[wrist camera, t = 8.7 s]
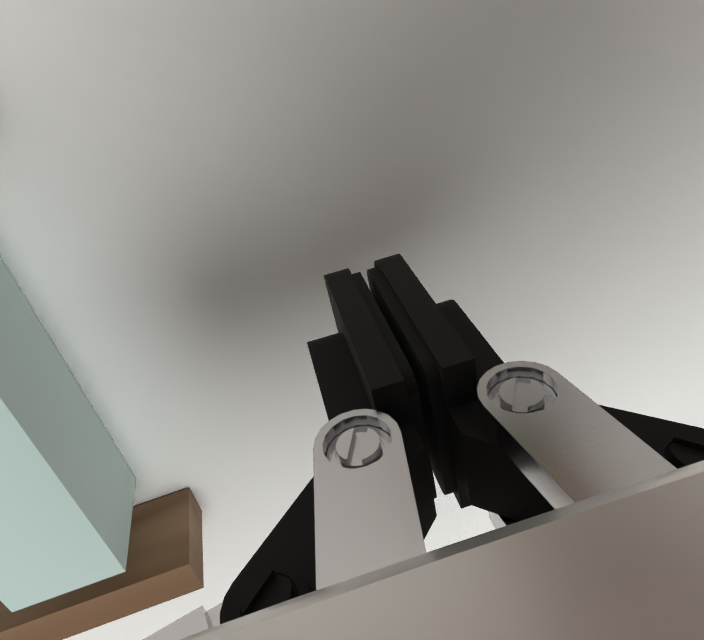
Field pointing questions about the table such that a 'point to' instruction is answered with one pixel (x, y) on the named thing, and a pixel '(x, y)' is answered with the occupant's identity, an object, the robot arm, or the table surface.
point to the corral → (125, 575)
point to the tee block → (53, 469)
